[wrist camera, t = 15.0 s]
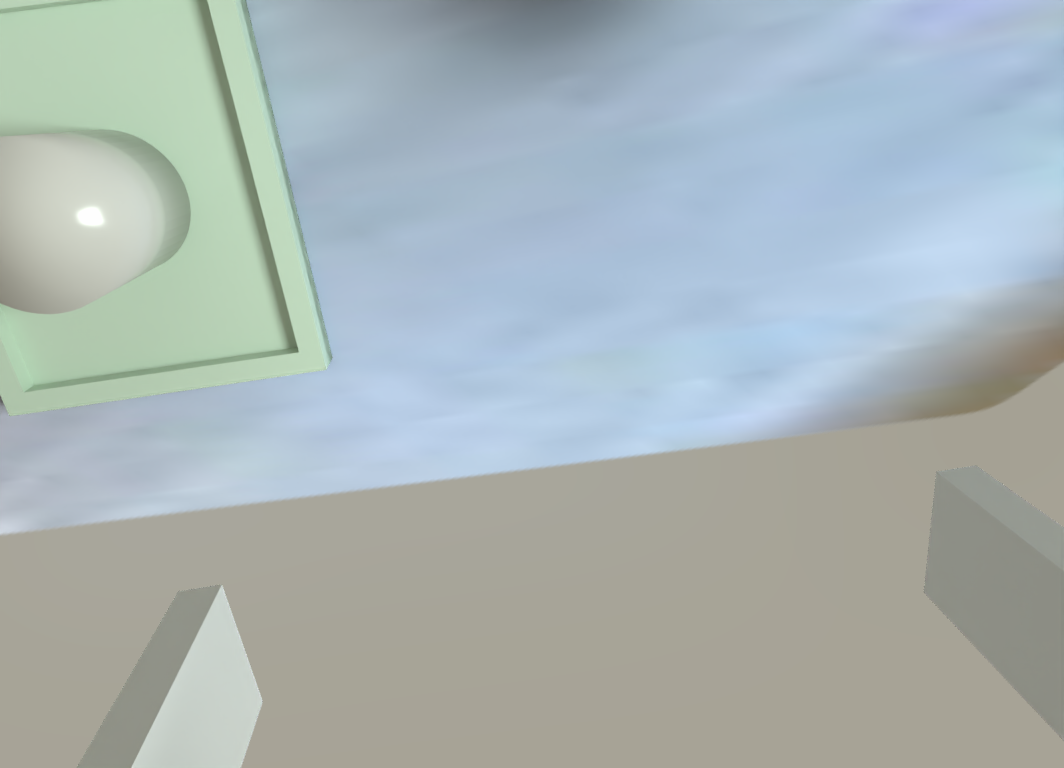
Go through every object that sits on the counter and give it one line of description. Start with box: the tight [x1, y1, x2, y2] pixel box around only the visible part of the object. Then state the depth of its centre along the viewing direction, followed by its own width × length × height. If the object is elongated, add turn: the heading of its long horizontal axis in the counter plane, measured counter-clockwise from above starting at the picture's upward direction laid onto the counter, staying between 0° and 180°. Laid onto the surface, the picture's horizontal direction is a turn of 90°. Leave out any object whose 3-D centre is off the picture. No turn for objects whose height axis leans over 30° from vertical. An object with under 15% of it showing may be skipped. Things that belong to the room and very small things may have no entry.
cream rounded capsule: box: [0, 129, 191, 314], centre depth 32 cm, size 7×7×8 cm
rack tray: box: [0, 0, 332, 416], centre depth 36 cm, size 20×17×2 cm
